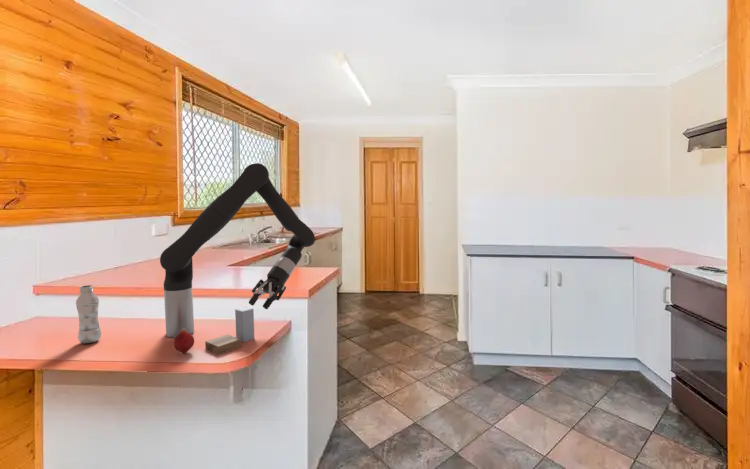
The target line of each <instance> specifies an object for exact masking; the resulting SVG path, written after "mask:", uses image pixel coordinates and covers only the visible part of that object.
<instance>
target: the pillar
mask: <svg viewBox="0 0 750 469" xmlns="http://www.w3.org/2000/svg"><path fill="white" fill-rule="evenodd" d="M234 311H235V313H234V314H235V337H236V338H239V339H241V343H246V342H249V341H251V340H255V318H254V317H255V315H254V308H252V307H249V306H244V307H240V308H236V309H235V310H234Z"/></svg>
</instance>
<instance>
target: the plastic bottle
mask: <svg viewBox="0 0 750 469" xmlns="http://www.w3.org/2000/svg"><path fill="white" fill-rule="evenodd" d="M79 293H80V294H79V295H78V297H77V299H76V301H75V306H76V310H77V314H78V315H77V316H78V322H79V323H78V325H79V326H78V334H77V339H78V342H80V343H81V344H92V343H95V342H97V341H99V340H100V339H101V337H102V330H101V327H100V323H99V305H100V303H99V302H100V299H99V297H98V296H97V295H96V294H95V293H94V286H93V285H89V284H88V285H81V286H79Z"/></svg>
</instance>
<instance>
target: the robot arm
mask: <svg viewBox="0 0 750 469" xmlns="http://www.w3.org/2000/svg"><path fill="white" fill-rule="evenodd" d="M269 176H270V173H269V170H268V168H267V167H266V166H265V165H264V164H262V163H259V162H252V163H249V164H247V165H246V167H245V168H244V169H243V171H242V172H241V173H240V175H239V176H238V178H237V179H236V180H235V181H234V183H233V184H232V185H231V186H230V187H228V188H227V189H226V190H225V191H224V192H222V193H221V194H219V195H218V196H217V197H216V198H215V199H213V200H212V202H211V203H209V205H207V206H206V207H205V209H203V211H201V213H200V214H199V215H197V217H196V218H195V220H194V221H193V222H192V223H191V224H190V225H189V227H188V228H187V230H185V232H184V233H183V234H182V235H181V236H180V237H178V239H176V240H175V241H174V242H173V243H171V245H169V246H168V247H166V248H165V249H164V250H163V251H162V253H161V254H160V257H159V263H160V266H161V268H163V269H164V272H165V276H164V281H163V298H164V315H165V336H166V337H168V338H175V337H176V336H177V335H178V334H179V333H180V332H181V331H182V330H183V329H186V332H188V333H190V334H191V335H192V334H193V333H194V332H195V319H194V301H193V300H194V298H193V297H194V296H193V280H194V279H193V276H194V275H193V274H194V270H193V268H194V266H193V256H194V255H195V254H196V252H198V250H199V249H200V248H202V246H203V245H204V244H207V242H208V241H210V240H211V239H213V237H215V235H217V234H218V233H219V232H220V231H221V230H223V229H224V227H225V226H227V225H228V223H230V221H231V220H232V219H233V218H234V217H235V216H236V214H237V213H238V212H239V211H240V209H241V208H242V207H243V205H244V204H245V203H246V202H247V201H248V199H249V198H251V196H252V195H254V194H255V193H256V192H257V194H258V195H259V196H260V197H261V198H262V199H263V200H264V202H265V203H266V204H267V206H268V207H269V209H270V211H271V212H272V213H273V215H274V216H275V218H276V219H277V220H278V222H279V223H280V224H281V225H282V227H283V228H284V229H285V230H286V231H288V232H292V234H293V235H292V236H291V238H290V239H289V241H288V242H287V243H288V244H287V246H286V248H285V250H284V251H283V253H282V254H281V256H280V257H278V259H277V260H276V261H275V263H274V264H273V265H272V266H271V268H270V270H269V272H268V273H267V274H266V276H267V279H266V280H265V281H264V280H263V279H262V278H261V279H259V281H257V283H256V284H255V286H254V287H253V289H252V290H251V292H252V294H253V295H252V296H251V297H250V299H249V301H248V304H250V305H251V306H254V305H255V304H256V302H257V301H258V299H259V298H260V297H261V296H262V295H263V296H264V295H266V294H268V297H267V299H266V300H265V301H264V303H263V304H262V308H263V309H265V310H268V309H269V308H270V307H271V305H272V304H273V302H275V301H280V300H281V298H282V296H283V294H284V292H285V291H286V289H287V286H286V285H285V284H286V283H287V281H288V280H289V278H290V276H291V275H292V273H293V272H294V270H295V268H296V266H297V265H298V264H299V262H300V260H301V259H302V256H303V254H302V250H303V249H304V248H309V247H311V246H313V245H314V244H315V242H316V235H315V234H314V232H313V231H312V229H311V228H310V227H309V226H308V225H307V224H306V223H305V222H304V221H302V220H301V219H300V218H299V216H298V215H297V214H296V212H295V211H294V210H293V208H292V207H291V206H290V205H289V203H288V202H287V201H286V200H285V199H284V198H283V197H282V195H281V194H280V193H279V192H278V190H277V189H276V187H275V186H274V185H273V183H272V181H271V179H270V177H269Z"/></svg>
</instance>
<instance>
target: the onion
mask: <svg viewBox="0 0 750 469" xmlns="http://www.w3.org/2000/svg"><path fill="white" fill-rule="evenodd" d="M194 344H195V338H194V336H193V335H192V334H190V333H188V332H186V329H183V330H182V331H181V332H180V333H179V334H178V335H177V336H176V337H174V340H173V347H174V349H175V350H176V351H177V352H179V353H182V354H186V353H188V351H190V350H191V349H192V348H193V346H194Z"/></svg>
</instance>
